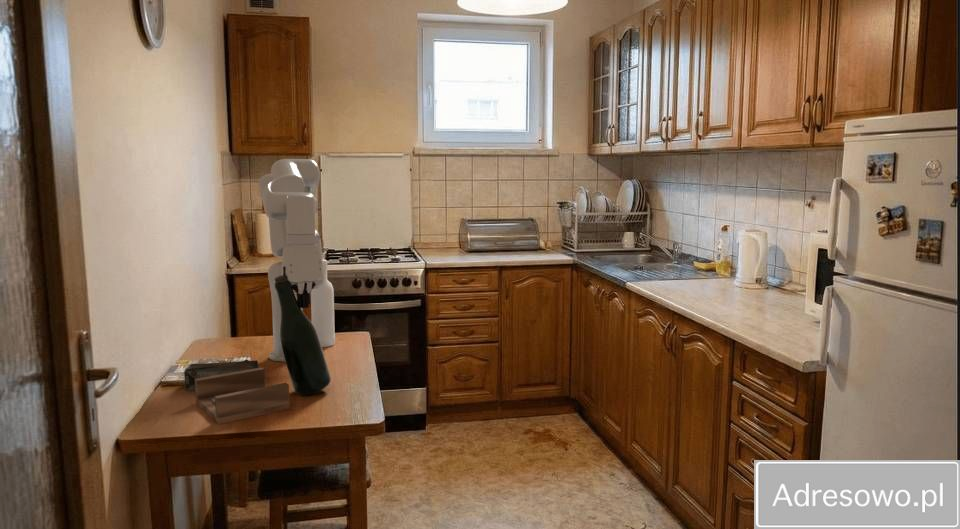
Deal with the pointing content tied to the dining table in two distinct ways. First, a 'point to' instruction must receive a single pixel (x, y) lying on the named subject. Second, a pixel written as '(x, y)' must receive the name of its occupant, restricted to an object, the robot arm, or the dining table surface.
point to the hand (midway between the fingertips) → (303, 307)
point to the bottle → (323, 311)
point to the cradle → (240, 395)
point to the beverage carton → (214, 370)
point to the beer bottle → (300, 343)
